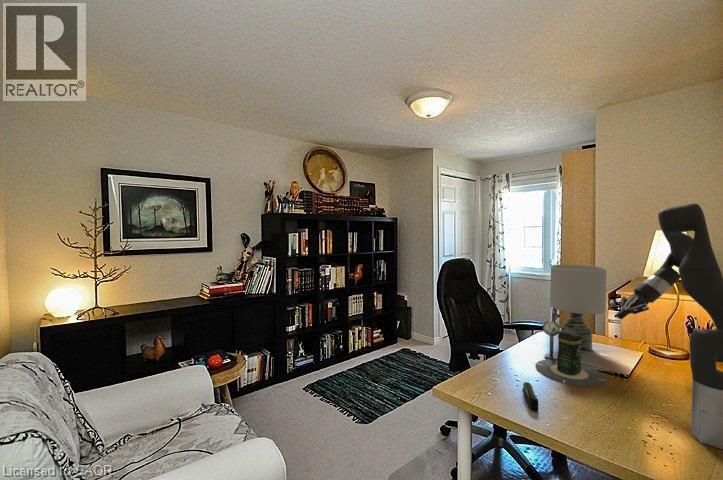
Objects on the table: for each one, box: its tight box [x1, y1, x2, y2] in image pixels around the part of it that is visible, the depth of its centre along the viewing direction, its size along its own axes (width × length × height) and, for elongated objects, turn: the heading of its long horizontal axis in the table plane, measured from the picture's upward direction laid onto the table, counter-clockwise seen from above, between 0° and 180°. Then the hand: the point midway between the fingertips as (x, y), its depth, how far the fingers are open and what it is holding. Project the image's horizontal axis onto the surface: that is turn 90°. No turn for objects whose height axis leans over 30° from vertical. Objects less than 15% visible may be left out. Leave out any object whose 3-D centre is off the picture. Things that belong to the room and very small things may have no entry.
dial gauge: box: [542, 320, 561, 360], centre depth 154 cm, size 5×7×18 cm
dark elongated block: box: [521, 381, 539, 413], centre depth 118 cm, size 5×3×15 cm
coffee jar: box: [557, 328, 582, 375], centre depth 139 cm, size 10×8×19 cm
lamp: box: [549, 264, 607, 352], centre depth 167 cm, size 24×24×42 cm
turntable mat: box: [534, 359, 607, 388], centre depth 140 cm, size 26×26×1 cm
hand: (618, 317), depth 133 cm, fingers closed
